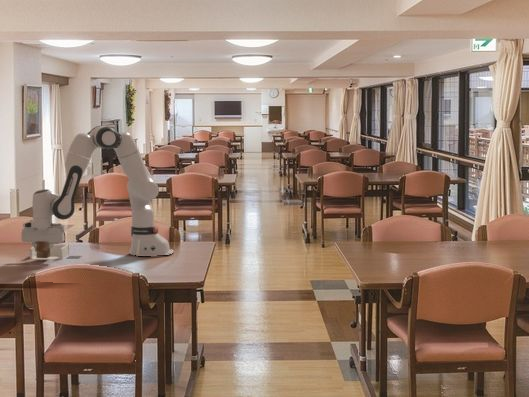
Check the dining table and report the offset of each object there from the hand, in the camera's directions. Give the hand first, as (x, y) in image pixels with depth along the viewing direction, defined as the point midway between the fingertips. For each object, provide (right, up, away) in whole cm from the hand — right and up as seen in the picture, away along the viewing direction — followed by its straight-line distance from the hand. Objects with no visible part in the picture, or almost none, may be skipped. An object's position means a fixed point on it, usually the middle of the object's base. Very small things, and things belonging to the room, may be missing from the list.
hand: (43, 251), depth 356 cm
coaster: (+13, -4, +8) cm, 16 cm away
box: (0, -4, +9) cm, 10 cm away
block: (0, -3, 0) cm, 3 cm away
